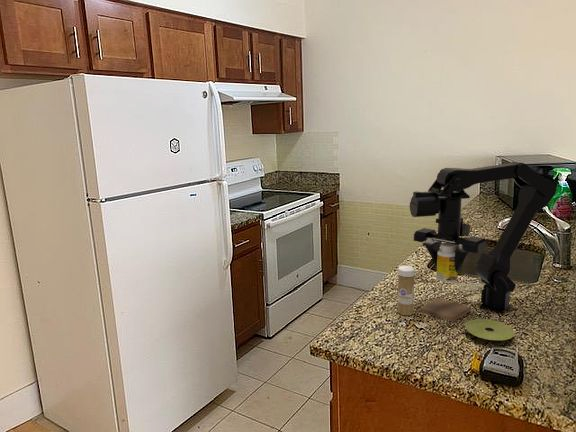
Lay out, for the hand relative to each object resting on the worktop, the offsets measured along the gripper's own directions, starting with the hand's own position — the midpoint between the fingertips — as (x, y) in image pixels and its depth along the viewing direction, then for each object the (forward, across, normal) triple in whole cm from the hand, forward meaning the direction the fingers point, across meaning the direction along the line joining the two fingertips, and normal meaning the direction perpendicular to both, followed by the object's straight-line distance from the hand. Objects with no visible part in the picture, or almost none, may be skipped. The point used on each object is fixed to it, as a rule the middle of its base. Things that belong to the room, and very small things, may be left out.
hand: (447, 269), depth 120 cm
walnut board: (+12, 0, 0) cm, 12 cm away
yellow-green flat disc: (+13, -15, +6) cm, 21 cm away
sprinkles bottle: (+13, +7, +9) cm, 17 cm away
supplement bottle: (+3, 0, 0) cm, 3 cm away
